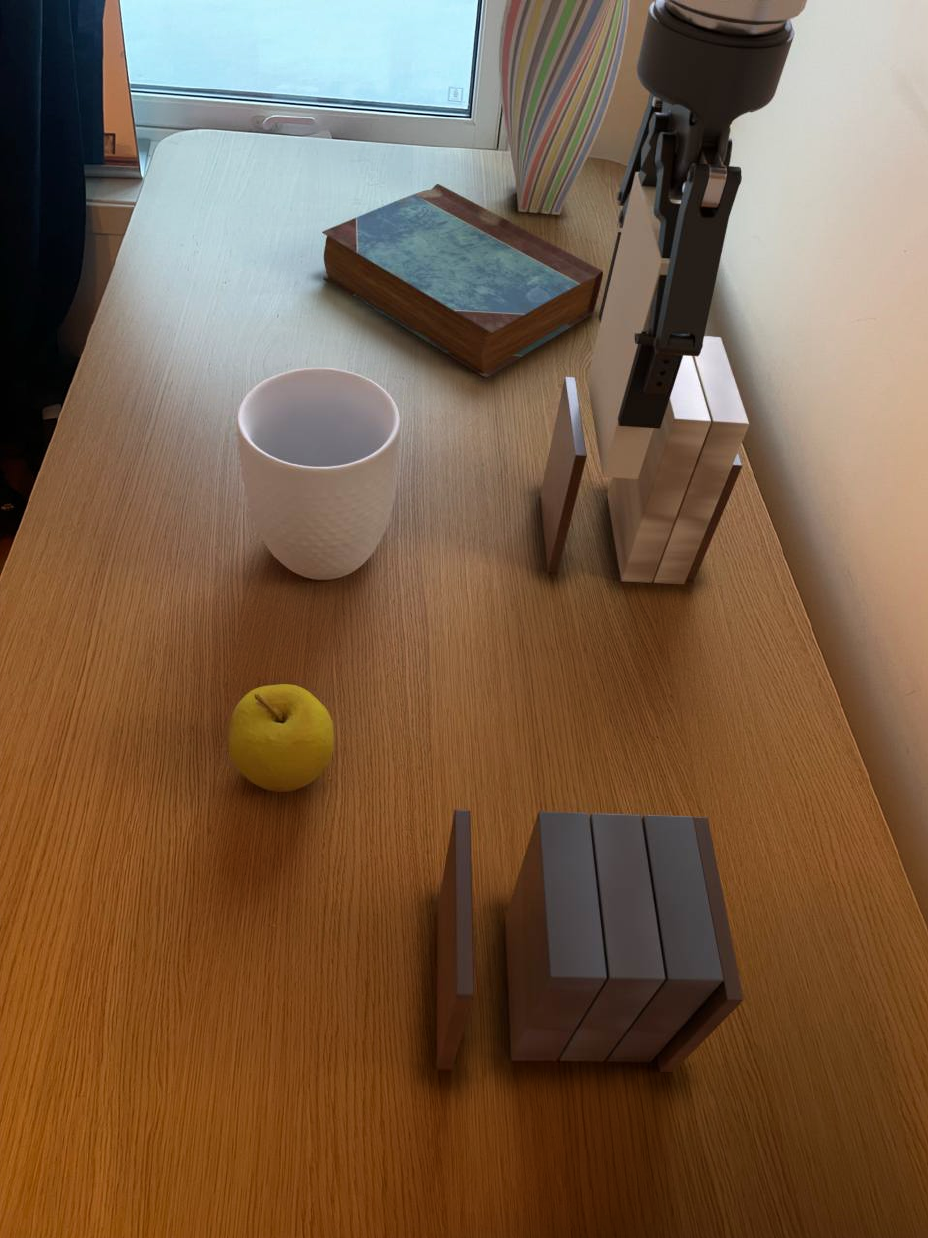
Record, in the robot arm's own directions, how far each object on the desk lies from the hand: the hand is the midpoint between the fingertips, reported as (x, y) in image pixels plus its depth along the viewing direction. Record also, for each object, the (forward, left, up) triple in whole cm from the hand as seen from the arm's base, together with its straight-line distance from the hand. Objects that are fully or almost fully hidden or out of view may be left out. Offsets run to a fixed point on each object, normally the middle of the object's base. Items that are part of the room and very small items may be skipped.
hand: (627, 369), depth 64 cm
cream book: (0, 0, -5) cm, 5 cm away
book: (+29, -20, -16) cm, 39 cm away
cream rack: (-2, -1, -16) cm, 16 cm away
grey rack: (-19, +32, -16) cm, 40 cm away
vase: (+35, -43, -16) cm, 58 cm away
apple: (+2, +32, -16) cm, 36 cm away
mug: (+14, +15, -16) cm, 26 cm away
